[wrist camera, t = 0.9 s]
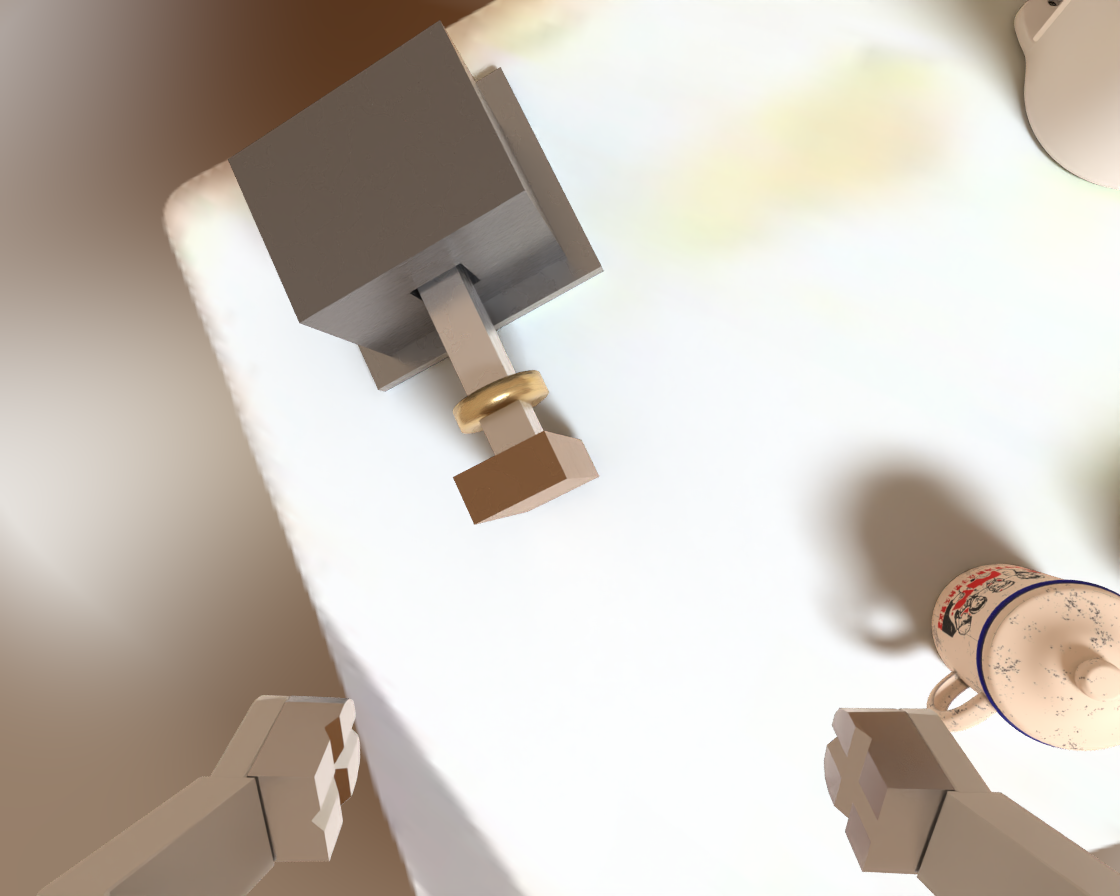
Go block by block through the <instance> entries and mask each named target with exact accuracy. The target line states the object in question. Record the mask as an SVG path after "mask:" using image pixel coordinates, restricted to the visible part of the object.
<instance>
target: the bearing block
mask: <svg viewBox="0 0 1120 896" xmlns="http://www.w3.org/2000/svg"><path fill="white" fill-rule="evenodd" d="M228 161H229V163H230V165H231V168H232V170H233V172H234V174H235V177H236V179H237V181H238V184H239V186H240V188H241V190H242V193H243V195H244V197H245V200H246V202H247V204H248V206H249V209H250V211H251V213H252V216H253V218H254V220H255V222H256V225H257V227H258V229H259V232H260V234H261V236H262V238H263V241H264V243H265V245H266V248H267V250H268V252H269V254H270V257H271V259H272V261H273V264H274V266H275V268H276V270H277V273H278V275H279V277H280V280H281V282H282V284H283V286H284V289H285V291H286V293H287V296H288V298H289V300H290V302H291V305H292V307H293V309H294V312H295V314H296V316H297V318H298V321H299V323H301V324H303V325H306V326H309V327H312V328H314V329H317V330H320V331H323V332H325V333H328V334H331V335H333V336H336V337H339V338H342V339H344V340H347V341H350V342H352V343H355V344H358V346H359V348H360V350H361V352H362V355H363V357H364V359H365V361H366V364H367V366H368V368H369V370H370V372H371V375H372V377H373V379H374V381H375V384H376V386H377V388H378V390H381V391H387V390H389V389H391V388H393V387H394V386H396V385H398V384H400V383H402V382H403V381H405V380H407V379H409V378H411V377H413V376H414V375H416V374H418V373H420V372H422V371H423V370H425V369H427V368H429V367H431V366H432V365H434V364H436V363H438V362H440V361H442V360H443V359H445V358H447V357H449V355H448V353H447V351H446V349H445V347H444V345H443V343H442V340H441V338H440V336H439V334H438V332H437V330H436V328H435V325H434V323H433V321H432V319H431V317H430V315H429V312H428V310H427V308H426V306H425V304H424V302H423V300H422V297H421V295H420V293H419V291H418V289H417V288H418V287H420V286H422V285H424V284H425V283H427V282H429V281H431V280H432V279H434V278H436V277H438V276H439V275H441V274H443V273H444V272H446V271H448V270H450V269H451V268H453V267H455V266H457V265H458V264H460V263H461V264H462V265H463V266H465V268H466V270H467V272H468V274H469V276H470V278H471V280H472V282H473V284H474V287H475V289H476V291H477V293H478V295H479V297H480V299H481V301H482V303H483V305H484V307H485V310H486V312H487V314H488V316H489V318H490V320H491V322H492V324H493V326H494V328H495V330H498V329H500V328H501V327H503V326H505V325H507V324H509V323H510V322H512V321H514V320H516V319H518V318H520V317H521V316H523V315H525V314H527V313H529V312H530V311H532V310H534V309H536V308H538V307H539V306H541V305H543V304H545V303H547V302H549V301H550V300H552V299H554V298H556V297H558V296H559V295H561V294H563V293H565V292H567V291H568V290H570V289H572V288H574V287H576V286H578V285H579V284H581V283H583V282H585V281H587V280H588V279H590V278H592V277H594V276H596V275H597V274H599V273H601V272H603V269H602V266H601V264H600V262H599V261H598V259H597V257H596V255H595V253H594V251H593V249H592V247H591V245H590V243H589V241H588V239H587V237H586V235H585V233H584V231H583V229H582V227H581V225H580V223H579V221H578V219H577V217H576V215H575V213H574V211H573V209H572V207H571V205H570V203H569V201H568V199H567V197H566V195H565V193H564V192H563V190H562V188H561V186H560V184H559V182H558V180H557V178H556V176H555V174H554V172H553V170H552V168H551V166H550V164H549V162H548V160H547V158H546V156H545V154H544V152H543V150H542V148H541V146H540V144H539V142H538V140H537V138H536V136H535V134H534V132H533V130H532V128H531V126H530V124H529V123H528V121H527V119H526V117H525V115H524V113H523V111H522V109H521V107H520V105H519V103H518V101H517V99H516V97H515V95H514V93H513V91H512V89H511V87H510V85H509V83H508V81H507V79H506V77H505V75H504V73H503V71H502V69H501V67H500V68H498V69H496V70H495V71H493V72H492V73H490V74H489V75H487V76H485V77H484V78H482V79H481V80H479V81H477V82H475V80H474V78H473V76H472V75H471V73H470V71H469V69H468V68H467V66H466V64H465V63H464V61H463V59H462V57H461V56H460V54H459V52H458V50H457V49H456V47H455V45H454V43H453V42H452V40H451V38H450V37H449V35H448V33H447V31H446V30H445V28H444V26H443V25H442V23H441V21H440V20H439V21H438V22H436V23H435V24H434V25H432V26H430V27H429V28H427V29H426V30H424V31H423V32H421V33H420V34H418V35H417V36H415V37H414V38H412V39H410V40H409V41H408V42H406V43H404V44H403V45H402V46H400V47H398V48H397V49H395V50H394V51H392V52H391V53H389V54H388V55H386V56H385V57H383V58H382V59H380V60H379V61H377V62H375V63H374V64H373V65H371V66H369V67H368V68H366V69H365V70H363V71H362V72H360V73H359V74H357V75H356V76H354V77H353V78H351V79H350V80H348V81H347V82H345V83H343V84H342V85H340V86H339V87H337V88H336V89H334V90H333V91H331V92H330V93H328V94H327V95H325V96H324V97H322V98H321V99H319V100H318V101H316V102H315V103H313V104H312V105H310V106H308V107H307V108H305V109H304V110H302V111H301V112H299V113H298V114H296V115H295V116H293V117H292V118H290V119H289V120H287V121H286V122H284V123H283V124H281V125H280V126H278V127H277V128H275V129H273V130H272V131H270V132H269V133H267V134H266V135H264V136H263V137H262V138H260V139H258V140H257V141H255V142H254V143H252V144H251V145H249V146H248V147H246V148H244V149H243V150H241V151H240V152H238V153H237V154H235V155H234V156H232V157H231V158H229V159H228Z"/></svg>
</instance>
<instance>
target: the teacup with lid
mask: <svg viewBox="0 0 1120 896" xmlns="http://www.w3.org/2000/svg"><path fill="white" fill-rule="evenodd" d="M932 635H933V640H934V643H935V646H936V649H937V651H938V653H939V655H940V657H941V658H942V660H943V661H944V663H945V664H946V665H947V667H948V668H949V669H950V670H951V671H952V672H951V673H950V674H948V675H947V676H946V677H945V678H943V679H942V680H941V681H940V682H939V683H938V684H937V685H936V686H935V687H934V688H933V690H932V691H931V693H930V695H929V697H928V701H927V709H931V710H933V711H934V712H936V713H937V714H938V715H939V717H940V718H941V720H942V721H943V723H944V724H945V726H946V727H947V728H948V730H949V731H950V732H957V731H963V730H966V729H969V728H972V727H974V726H976V725H978V724H980V723H981V722H983V721H984V720H986V719H987V718H989V717H990V716H992V715H993V714H994V713H996V712H998V713H999V714H1000V716H1001V717H1002V718H1003V719H1004V720H1005V721H1007V722H1008V723H1009V724H1010V725H1011V726H1012V727H1014V728H1015V729H1016V730H1018V731H1019V732H1021V733H1023V734H1024V735H1026V736H1028V737H1030V738H1032V739H1034V740H1036V741H1038V742H1041V743H1043V744H1046V745H1049V746H1053V747H1057V748H1062V749H1069V750H1077V751H1092V750H1101V749H1106V748H1111V747H1114V746H1117V745H1120V595H1119V594H1118V593H1116V592H1114V591H1112V590H1109V589H1107V588H1105V587H1102V586H1099V585H1096V584H1092V583H1088V582H1083V581H1077V580H1064V579H1061V578H1057V577H1054V576H1051V575H1047V574H1044V573H1041V572H1037V571H1034V570H1031V569H1027V568H1024V567H1020V566H1016V565H1010V564H990V565H984V566H979V567H976V568H973V569H971V570H968V571H966V572H964V573H962V574H961V575H959V576H958V577H956V578H955V579H954V580H952V581H951V582H950V583H949V584H948V585H947V586H946V587H945V589H944V590H943V591H942V593H941V594H940V596H939V598H938V600H937V602H936V604H935V607H934V611H933V615H932ZM969 687H971V688H972V689H973V690H974V691H976V692H977V693H978V694H977V695H976V696H975V697H973V698H972V699H970V700H969V701H967V702H966V703H964V704H963V705H961V706H959V707H957V708H955V709H952V710H948V707H949V705H950V704H951V702H952V701H953V700H954V699H955V698H956V697H957V696H958V695H960V694H961V693H962V692H963V691H965V690H966V689H967V688H969ZM947 710H948V711H947Z"/></svg>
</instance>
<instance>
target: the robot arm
mask: <svg viewBox="0 0 1120 896" xmlns="http://www.w3.org/2000/svg"><path fill="white" fill-rule="evenodd" d="M1048 1H1053V2H1055V3H1056V5H1057V6H1051V5H1049V3H1048ZM1014 27H1015V32H1016V35H1017V38H1018V41H1019V43H1020V46H1021V48H1022V50H1023V52H1024V55H1025V59H1026V73H1025V85H1024V99H1025V107H1026V112H1027V116H1028V119H1029V122H1030V125H1031V127H1032V130H1033V132H1034V134H1035V136H1036V137H1037V139H1038V141H1039V142H1040V144H1041V145H1042V146H1043V148H1044V149H1045V150H1046V151H1047V153H1048V154H1049V155H1050V156H1051V157H1052V158H1053V159H1054V160H1055V161H1057V162H1058V163H1059V164H1060V165H1061V166H1063V167H1064V168H1065V169H1067V170H1068V171H1070V172H1071V173H1073V174H1075V175H1077V176H1078V177H1080V178H1082V179H1085V180H1087V181H1089V182H1092V183H1094V184H1097V185H1101V186H1104V187H1108V188H1112V189H1118V190H1120V0H1028V1H1027V2H1026V3H1025V4H1024V5H1023V6H1022V7H1021V9H1020V10H1019V11H1018V12H1017V14H1016V16H1015V19H1014ZM355 717H356V713H355V707H354V702H353V700H351V699H349V698H328V697H306V696H291V697H290V696H271V695H261V696H260V697H259V698H258V699H256V700H255V701H254V702H253V704H252V705H251V707H250V709H249V711H248V712H247V714H246V716H245V718H244V719H243V721H242V723H241V724H240V726H239V728H238V730H237V731H236V733H235V735H234V736H233V738H232V740H231V742H230V743H229V745H228V747H227V748H226V750H225V752H224V754H223V755H222V757H221V759H220V760H219V762H218V764H217V766H216V767H215V769H214V771H213V773H212V774H211V776H210V777H200V778H198V779H197V780H195V781H194V782H193V783H191V784H190V785H188V786H187V787H185V788H184V789H183V790H181V791H180V792H178V793H177V794H176V795H174V796H173V797H171V798H170V799H169V800H167V801H166V802H164V803H163V804H161V805H160V806H159V807H157V808H156V809H154V810H153V811H151V812H150V813H149V814H147V815H146V816H144V817H143V818H142V819H140V820H139V821H137V822H136V823H134V824H133V825H132V826H130V827H129V828H127V829H126V830H125V831H123V832H122V833H120V834H119V835H118V836H116V837H115V838H113V839H112V840H110V841H109V842H108V843H106V844H105V845H103V846H102V847H100V848H99V849H98V850H96V851H95V852H94V853H92V854H91V855H89V856H88V857H86V858H85V859H84V860H82V861H81V862H79V863H78V864H76V865H75V866H74V867H72V868H71V869H70V870H68V871H66V872H65V873H64V874H62V875H61V876H59V877H58V878H57V879H55V880H54V881H52V882H51V883H49V884H48V885H47V886H46V887H44V888H42V889H41V890H40V891H39V892H38V894H37V895H36V896H246V895H247V894H248V893H249V891H250V890H251V889H252V888H253V887H254V886H255V885H256V884H257V883H258V882H259V881H260V880H261V879H262V878H263V877H264V876H265V875H266V874H267V873H268V871H269V870H270V869H271V868H272V867H273V866H274V862H302V861H303V862H304V861H305V862H307V861H329V860H330V858H331V855H332V852H333V849H334V846H335V843H336V840H337V837H338V834H339V831H340V828H341V826H342V823H343V819H342V812H341V805H342V804H343V803H344V802H346V801H347V800H348V799H349V798H350V797H351V796H352V793H353V790H354V786H355V783H356V780H357V774H358V768H359V763H360V743H359V736H358V735H357V734H356V733H355V732H354V731H353V730H352V729H351V728H352V725H353V722H354V720H355ZM832 727H833V729H834V731H835V733H836V735H837V737H836V738H835V739H834V740H833V741H831V742H830V743H829V744H828V745H827V748H826V753H825V758H824V770H825V780H826V784H827V788H828V792H829V794H830V797H831V799H832V802H833V804H834V806H835V807H836V808H837V809H838V810H840V811H841V812H842V813H843V814H844V815H845V816H847V817H848V822H847V826H846V830H845V833H846V835H847V837H848V840H849V842H850V844H851V846H852V849H853V851H854V853H855V856H856V858H857V860H858V863H859V865H860V867H861V870H862V872H881V873H902V874H918V875H917V878H918V879H919V880H920V881H921V882H922V883H923V884H924V885H925V886H926V887H927V888H928V889H929V890H930V891H931V892H932V893H933V894H934V895H935V896H1120V873H1118V872H1117V871H1115V870H1114V869H1112V868H1111V867H1109V866H1108V865H1107V864H1105V863H1103V862H1102V861H1101V860H1099V859H1097V858H1096V857H1095V856H1093V855H1092V854H1090V853H1089V852H1088V851H1086V850H1085V849H1083V848H1082V847H1080V846H1079V845H1077V844H1076V843H1074V842H1073V841H1071V840H1070V839H1068V838H1067V837H1065V836H1064V835H1063V834H1061V833H1060V832H1058V831H1057V830H1055V829H1054V828H1052V827H1051V826H1049V825H1048V824H1046V823H1045V822H1043V821H1042V820H1041V819H1039V818H1038V817H1036V816H1035V815H1033V814H1032V813H1030V812H1029V811H1027V810H1026V809H1024V808H1023V807H1021V806H1020V805H1019V804H1017V803H1016V802H1014V801H1013V800H1011V799H1010V798H1008V797H1007V796H1005V795H1004V794H1002V793H1000V792H991V791H990V789H989V788H988V786H987V785H986V783H985V782H984V781H983V779H982V778H981V776H980V775H979V773H978V772H977V770H976V769H975V768H974V766H973V765H972V763H971V762H970V760H969V759H968V757H967V756H966V754H965V753H964V752H963V750H962V749H961V747H960V746H959V744H958V743H957V742H956V740H955V739H954V737H953V736H952V734H951V733H950V731H949V730H948V728H947V727H946V726H945V724H944V723H943V721H942V720H941V718H940V717H939V715H938V714H937V713H936V712H934V711H933V710H931V709H902V708H900V709H893V708H839V709H838V711H837V712H836V713H835V715H834V719H833V723H832Z"/></svg>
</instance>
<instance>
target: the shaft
mask: <svg viewBox="0 0 1120 896" xmlns="http://www.w3.org/2000/svg"><path fill="white" fill-rule="evenodd" d="M417 289H418V291H419V293H420V295H421V297H422V300H423V302H424V304H425V306H426V308H427V310H428V312H429V315H430V317H431V319H432V321H433V323H434V325H435V328H436V330H437V332H438V334H439V336H440V338H441V340H442V343H443V345H444V347H445V349H446V351H447V353H448V355H449V358H450V360H451V362H452V364H453V366H454V368H455V370H456V373H457V375H458V377H459V379H460V381H461V383H462V385H463V388H464V390H465V392H466V394H467V397H465V398H464V399H463V400H461V401H460V402H459V403H458V404H457V405H456V406H455V407H454V409H453V415H454V417H455V419H456V421H457V423H458V425H459V428H460V430H461V432H462V433H464V434H471V433H476V432H480V431H484V433H485V435H486V437H487V439H488V441H489V443H490V446H491V448H492V450H493V452H494V454H495V456H493V457H491V458H489V459H488V460H486V461H484V462H482V463H480V464H478V465H476V466H474V467H472V468H470V469H468V470H466V471H464V472H462V473H460V474H458V475H456V476H454V477H453V478H454V481H455V483H456V485H457V487H458V489H459V492H460V494H461V496H462V498H463V500H464V503H465V505H466V507H467V509H468V511H469V514H470V516H471V518H472V520H473V522H474V525H475V524H479V523H483V522H487V521H492V520H496V519H500V518H504V517H508V516H512V515H516V514H520V513H524V512H528V511H530V510H532V509H534V508H536V507H538V506H540V505H543V504H545V503H547V502H549V501H551V500H553V499H555V498H557V497H559V496H561V495H563V494H565V493H567V492H569V491H571V490H573V489H575V488H577V487H579V486H581V485H583V484H585V483H587V482H589V481H591V480H593V479H595V478H597V477H599V475H598V473H597V471H596V469H595V467H594V465H593V462H592V460H591V458H590V456H589V454H588V452H587V450H586V448H585V446H584V444H583V442H582V440H580V439H576V438H572V437H568V436H564V435H560V434H556V433H552V432H548V431H543V429H542V427H541V425H540V422H539V420H538V418H537V416H536V414H535V412H534V410H533V407H535V406H536V405H537V404H539V403H540V402H541V401H543V400H544V399H545V398H546V397H547V395H548V394H549V391H548V389H547V387H546V385H545V383H544V381H543V379H542V376H541V374H540V372H539V371H536V370H529V371H523V372H519V373H516V372H515V370H514V368H513V366H512V364H511V362H510V360H509V358H508V356H507V353H506V351H505V349H504V347H503V345H502V343H501V341H500V339H499V337H498V335H497V333H496V330H495V328H494V326H493V324H492V322H491V320H490V318H489V316H488V314H487V312H486V310H485V307H484V305H483V303H482V301H481V299H480V297H479V295H478V293H477V291H476V289H475V287H474V284H473V282H472V280H471V278H470V276H469V274H468V272H467V270H466V268H465V266H463V265H462V264H461V263H460V264H458V265H457V266H455V267H453V268H451V269H450V270H448V271H446V272H444V273H443V274H441V275H439V276H438V277H436V278H434V279H432V280H431V281H429V282H427V283H425V284H424V285H422V286H420V287H418V288H417Z"/></svg>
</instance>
